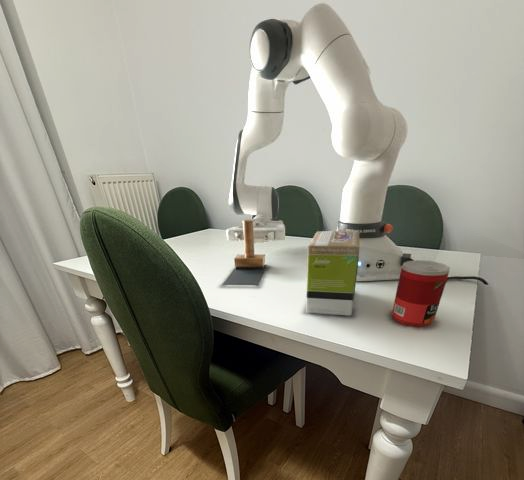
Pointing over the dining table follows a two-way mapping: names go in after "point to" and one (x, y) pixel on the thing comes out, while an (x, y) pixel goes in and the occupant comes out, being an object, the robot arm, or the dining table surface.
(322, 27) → the robot arm
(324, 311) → the tea box
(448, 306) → the dining table surface
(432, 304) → the canned food
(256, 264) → the brush
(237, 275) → the mat
